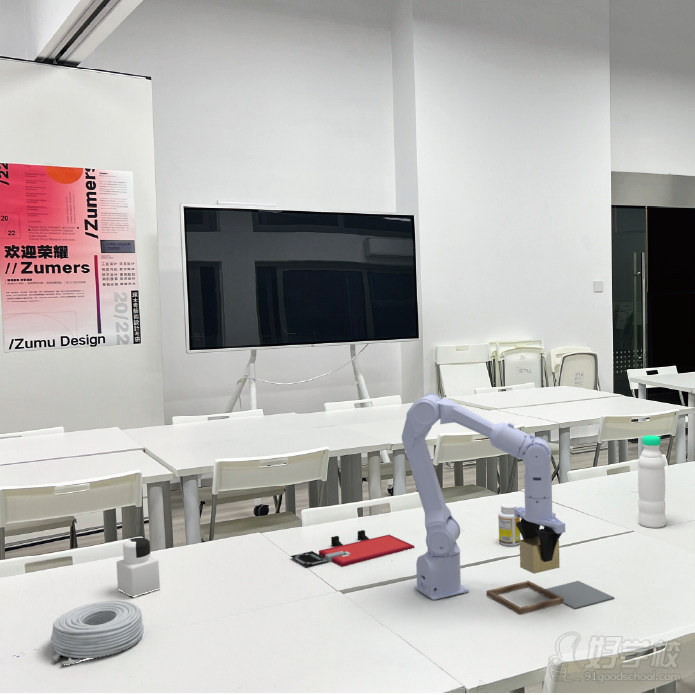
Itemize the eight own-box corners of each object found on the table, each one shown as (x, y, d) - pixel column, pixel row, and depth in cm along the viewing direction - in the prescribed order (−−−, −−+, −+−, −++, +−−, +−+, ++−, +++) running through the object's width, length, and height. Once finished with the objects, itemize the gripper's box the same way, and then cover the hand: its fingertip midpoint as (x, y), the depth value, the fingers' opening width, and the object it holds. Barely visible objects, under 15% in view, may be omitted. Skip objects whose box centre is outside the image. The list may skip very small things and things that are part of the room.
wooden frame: (520, 614, 157) (519, 609, 157) (486, 595, 168) (486, 590, 168) (563, 602, 162) (563, 598, 162) (528, 584, 173) (528, 580, 173)
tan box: (533, 573, 161) (533, 546, 161) (520, 567, 165) (519, 540, 165) (559, 567, 164) (559, 540, 164) (545, 561, 168) (545, 534, 168)
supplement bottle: (516, 539, 205) (515, 501, 204) (523, 545, 199) (522, 507, 198) (496, 540, 204) (495, 503, 203) (502, 547, 198) (501, 508, 198)
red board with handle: (286, 557, 197) (315, 575, 184) (286, 546, 197) (315, 564, 184) (381, 535, 213) (414, 551, 200) (381, 526, 213) (414, 540, 200)
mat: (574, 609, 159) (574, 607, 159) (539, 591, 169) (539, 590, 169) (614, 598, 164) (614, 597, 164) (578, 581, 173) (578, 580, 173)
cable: (53, 672, 140) (51, 640, 140) (50, 634, 156) (48, 605, 156) (150, 651, 147) (148, 621, 147) (137, 617, 163) (136, 590, 163)
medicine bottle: (144, 582, 183) (142, 533, 182) (160, 589, 178) (157, 539, 177) (117, 591, 178) (114, 540, 177) (132, 599, 173) (129, 547, 172)
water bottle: (667, 522, 214) (667, 434, 212) (663, 529, 208) (662, 439, 206) (641, 519, 218) (640, 433, 216) (635, 526, 212) (635, 437, 210)
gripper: (576, 500, 159) (577, 563, 160) (531, 485, 172) (532, 544, 173) (549, 505, 156) (550, 570, 157) (505, 490, 169) (507, 550, 170)
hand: (539, 557), depth 165 cm, fingers closed on tan box, 4 cm apart
